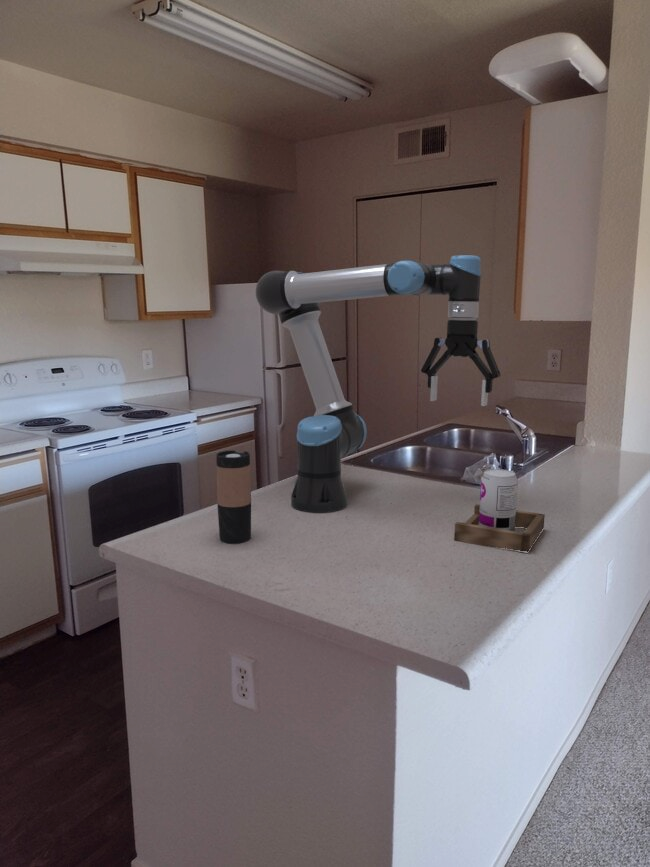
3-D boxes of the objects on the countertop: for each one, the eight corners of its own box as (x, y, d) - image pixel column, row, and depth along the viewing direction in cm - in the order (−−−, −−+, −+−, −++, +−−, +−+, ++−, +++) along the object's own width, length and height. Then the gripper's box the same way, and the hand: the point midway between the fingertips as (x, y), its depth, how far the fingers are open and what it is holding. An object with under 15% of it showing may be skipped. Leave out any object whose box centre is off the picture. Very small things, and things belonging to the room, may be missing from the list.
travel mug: (224, 546, 144) (222, 459, 140) (214, 535, 151) (211, 452, 147) (256, 540, 148) (255, 455, 144) (245, 530, 154) (243, 448, 150)
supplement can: (475, 538, 149) (478, 475, 146) (481, 527, 157) (484, 467, 154) (512, 543, 146) (516, 479, 143) (516, 531, 154) (519, 470, 151)
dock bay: (454, 540, 148) (454, 523, 147) (475, 519, 162) (476, 504, 162) (527, 553, 140) (529, 536, 139) (543, 530, 155) (544, 514, 154)
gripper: (410, 318, 165) (407, 400, 169) (508, 320, 153) (502, 409, 157) (422, 317, 171) (419, 397, 176) (516, 320, 159) (510, 405, 163)
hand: (458, 403), depth 166 cm, fingers open, 13 cm apart
